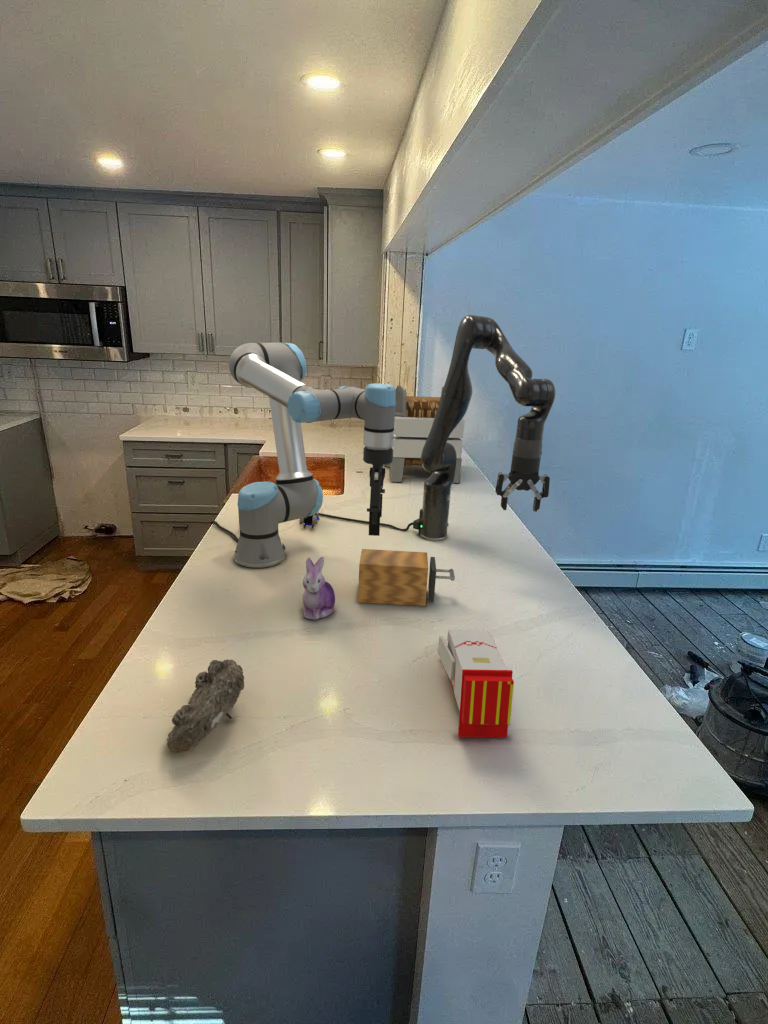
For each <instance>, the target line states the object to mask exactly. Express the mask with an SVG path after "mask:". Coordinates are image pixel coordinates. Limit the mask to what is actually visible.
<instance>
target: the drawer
mask: <svg viewBox="0 0 768 1024" xmlns="http://www.w3.org/2000/svg"><path fill="white" fill-rule="evenodd" d="M437 573H449V575H437ZM437 579H439V580H440V579H441V580H451V581H452V582H453V581H455V580H456V576H455V570H454V569H453V568H449V569H443V568H442V569H441V568H437V564H436V557H435V556H430V559H429V569H428V582H427V591H428V602H429V603H434V602H435V591H436V582H437V581H436V580H437Z"/></svg>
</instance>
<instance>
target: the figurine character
mask: <svg viewBox="0 0 768 1024" xmlns="http://www.w3.org/2000/svg"><path fill="white" fill-rule="evenodd" d="M318 513H319V511H318V512H317V513H316V514H314V515H312V516H308V517H307V518H300V519H298V522H299V523H298V524H299V525H300V526H303V527H302V528H303V529H304V530H305V529H306V528H307V526H308V527H310V526H311V530H313V529H314V527H315V526H316V525H318V521H319V520H320V517H319V515H318Z"/></svg>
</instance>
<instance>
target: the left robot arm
mask: <svg viewBox="0 0 768 1024" xmlns="http://www.w3.org/2000/svg"><path fill="white" fill-rule="evenodd" d="M228 370H229V372H230V375H231V376H232V378H233V380H234V381H236V382H237V383H238V384H239V385H241V386H243V387H245V388H249V389H254V390H257V391H258V392H260V393H262V394H263V395H265V396H267V397H268V400H269V408H270V414H271V423H272V427H273V436H274V442H275V449H276V457H277V463H278V471H279V473H278V475H277V476H276V477H275V482H273V481H269V480H267V481H255V482H251V483H248V484H246V485H244V486H243V487H242V488H240V490H239V491H238V494H237V512H238V513H237V514H238V530H239V537H238V536H237V535H236V534H235V533H234V532H233V531H231V530H229V529H227V528H225V527H223V526H222V525H220V524H219V523H218V522H217V521H216V520H212V521H211V522H210V525H215V527H217V528H218V529H220V530H221V531H224V532H225V533H227V534H229V535H230V536H232V538H233V539H234V540H235V542H237V543H236V547H235V550H234V561H235V563H236V564H237V565H239V566H242V567H246V568H249V569H250V568H251V569H264V568H265V569H266V568H271V567H274V566H276V565H279V564H281V563H282V562H284V561H285V559H286V552H285V551H286V545H285V544H284V543H283V542H282V541H281V537H280V534H279V524H282V523H287V522H291V521H296V520H300V518H307V517H308V516H312V515H314V514H316V513H317V512H318V513H319V511H320V510H321V508H322V506H323V503H324V492H323V488H322V486H321V484H320V482H319V481H318V480H317V479H315V478H314V476H313V475H314V474H313V473H312V472H310V471H309V469H308V467H307V459H306V458H307V457H306V452H305V443H304V436H303V429H302V428H303V427H302V423H303V424H305V423H306V424H311V423H316V422H325V421H332V420H333V421H334V420H335V421H336V420H344V419H352V418H353V419H359V420H362V421H364V424H363V425H364V426H363V445H364V447H363V453H362V454H363V456H362V460H363V462H364V463H365V464H368V465H372V467H369V473H368V474H369V475H368V476H369V487H370V493H369V494H370V496H369V508H367V507H366V512H368V513H369V514H368V521H369V524H368V536H374V537H375V536H377V537H378V536H380V532H381V531H380V530H381V529H380V528H381V527H380V526H381V525H380V523H381V518H382V516H383V514H382V512H383V495H384V494H386V489H385V488H384V480H385V477H386V467H384V465H387V464H390V463H392V461H393V449H392V448H391V447H392V446H393V438H396V435H395V434H394V435H393V433H394V422H395V405H396V391H395V390H396V387H395V386H394V385H393V384H388V383H374V382H373V383H369V384H367V385H365V388H359V387H356V386H353V385H341V386H339V387H338V388H332V389H315V388H314V387H311V386H310V385H307V384H306V383H304V382H302V381H303V380H304V379H305V377H306V375H307V374H306V373H307V370H308V369H307V361H306V358H305V355H304V353H303V351H302V350H301V349H300V348H299V347H298V345H297V344H294V343H291V342H283V341H280V342H278V341H277V342H247V343H243V344H241V345H239V346H238V347H236V348H235V349H234V350H233V351H232V352H231V354H230V357H229V360H228Z"/></svg>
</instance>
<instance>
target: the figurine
mask: <svg viewBox="0 0 768 1024" xmlns="http://www.w3.org/2000/svg"><path fill="white" fill-rule="evenodd" d="M324 563H325V557H324V556H320V557H319V558H318V559H317V561H316V563H315V564H314V561H313V560H312V558H311V557H307V558H306V561H305V568H306V572H305V575H304V577H303V580H302V586H303V588H304V589H305V590H304V592H303V594H302V603H303V608H302V611H303V617H304V618H305V619H309V620H314V621H315V620H319V619H321V618H327V617H328V616H330V615H331V614H332V613H334V611H335V605H336V604H335V603H336V594H335V590H334V588H333V586H332V585H331V584H330V583H329V582H328V581H327V580H326V579H325V577H324V575H323V573H322V572H323V567H324V565H325V564H324Z"/></svg>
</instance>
